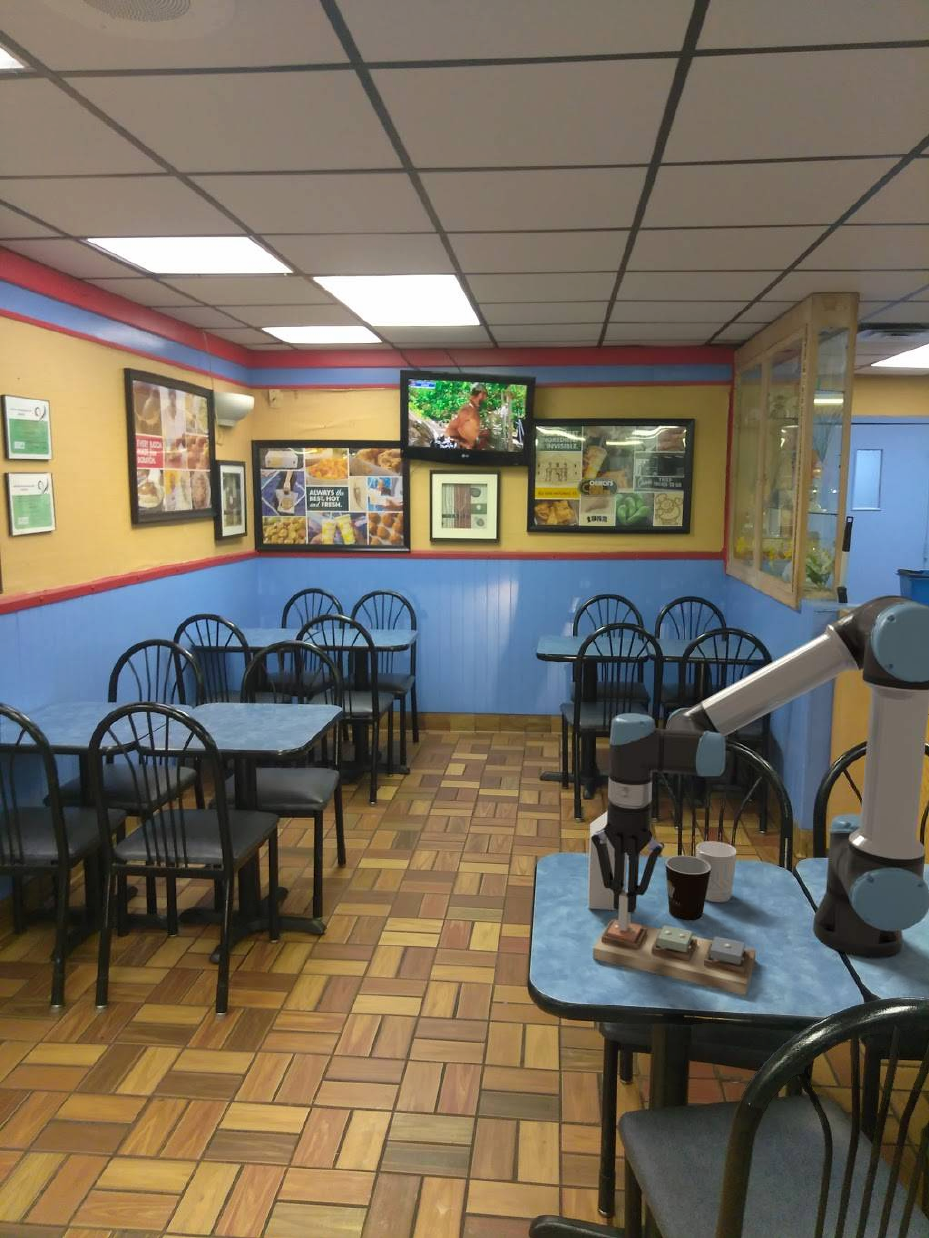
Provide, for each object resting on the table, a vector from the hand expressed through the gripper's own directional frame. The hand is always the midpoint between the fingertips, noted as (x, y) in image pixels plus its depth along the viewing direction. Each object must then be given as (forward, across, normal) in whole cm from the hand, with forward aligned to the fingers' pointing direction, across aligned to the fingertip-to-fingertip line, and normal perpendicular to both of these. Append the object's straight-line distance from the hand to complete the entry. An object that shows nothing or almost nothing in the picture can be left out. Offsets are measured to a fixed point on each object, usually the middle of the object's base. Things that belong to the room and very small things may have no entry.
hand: (623, 926), depth 159 cm
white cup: (+4, +11, +29) cm, 31 cm away
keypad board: (+4, +9, 0) cm, 10 cm away
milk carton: (+4, -8, +16) cm, 18 cm away
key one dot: (+1, +18, 0) cm, 18 cm away
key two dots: (+1, +9, 0) cm, 9 cm away
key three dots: (+2, 0, 0) cm, 2 cm away
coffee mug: (+4, +7, +20) cm, 22 cm away
